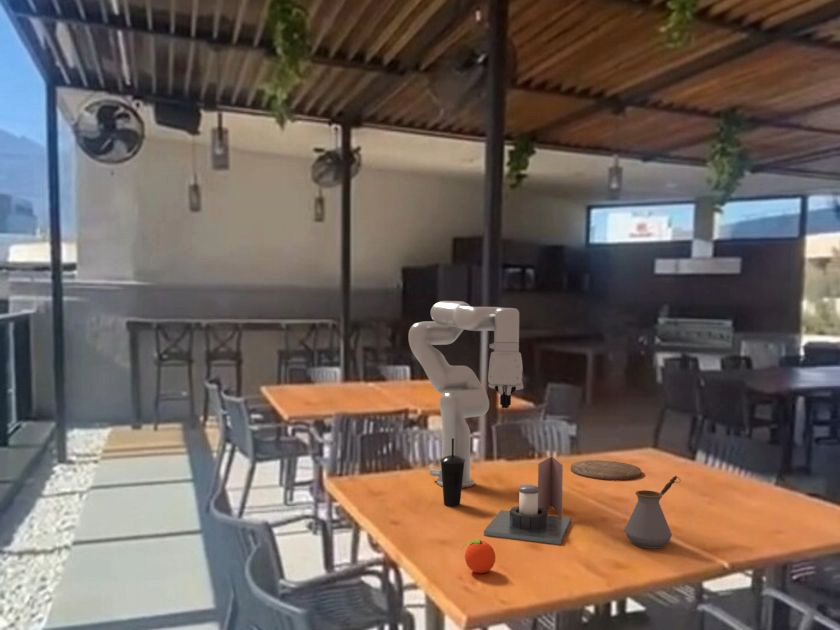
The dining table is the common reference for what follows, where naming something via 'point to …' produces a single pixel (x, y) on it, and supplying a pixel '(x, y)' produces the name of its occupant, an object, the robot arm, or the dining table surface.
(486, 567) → the clementine
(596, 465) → the trivet
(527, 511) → the round-ended cylinder
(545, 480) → the greeting card
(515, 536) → the square plate with ring
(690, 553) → the dining table surface
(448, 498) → the drinking cup
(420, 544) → the dining table surface
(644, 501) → the coffee pot
